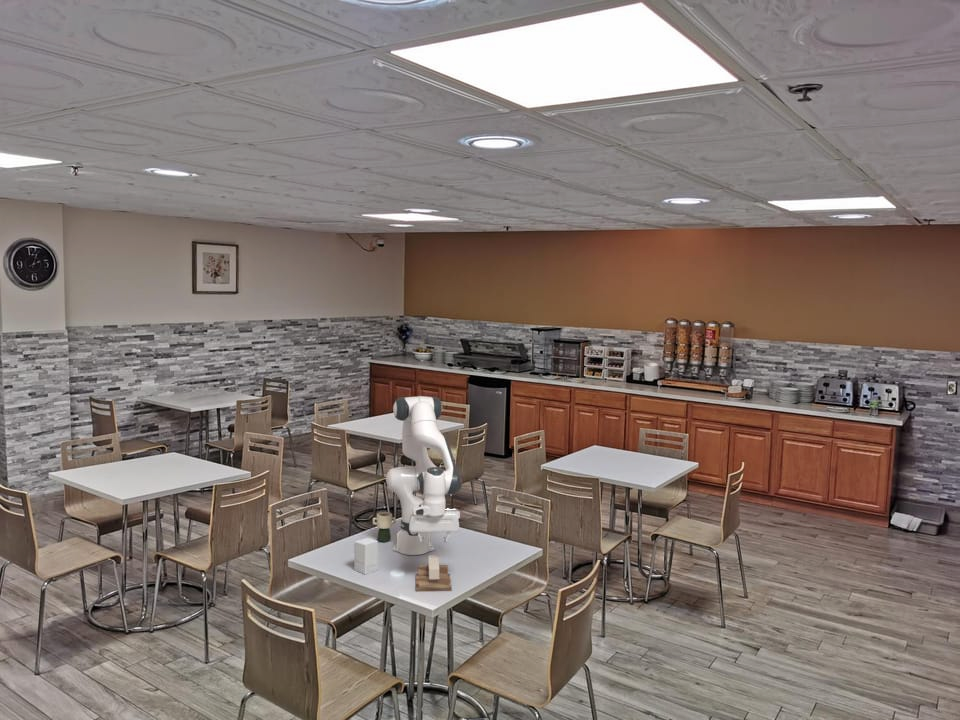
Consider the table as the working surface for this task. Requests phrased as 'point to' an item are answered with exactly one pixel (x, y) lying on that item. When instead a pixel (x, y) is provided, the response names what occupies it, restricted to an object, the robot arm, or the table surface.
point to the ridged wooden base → (433, 580)
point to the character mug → (384, 525)
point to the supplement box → (366, 555)
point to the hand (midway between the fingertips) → (433, 541)
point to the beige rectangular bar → (433, 566)
